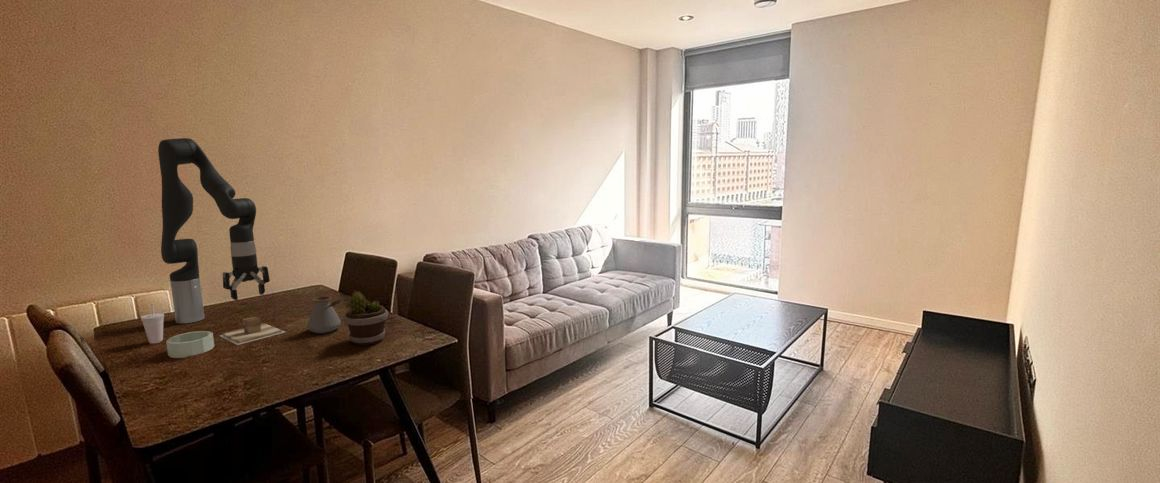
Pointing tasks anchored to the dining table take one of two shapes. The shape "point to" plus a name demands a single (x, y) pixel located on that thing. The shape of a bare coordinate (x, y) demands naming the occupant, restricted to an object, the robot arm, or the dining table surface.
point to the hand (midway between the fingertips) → (248, 297)
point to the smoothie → (153, 326)
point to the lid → (252, 331)
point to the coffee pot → (323, 316)
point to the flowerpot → (365, 320)
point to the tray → (247, 341)
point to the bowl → (190, 344)
